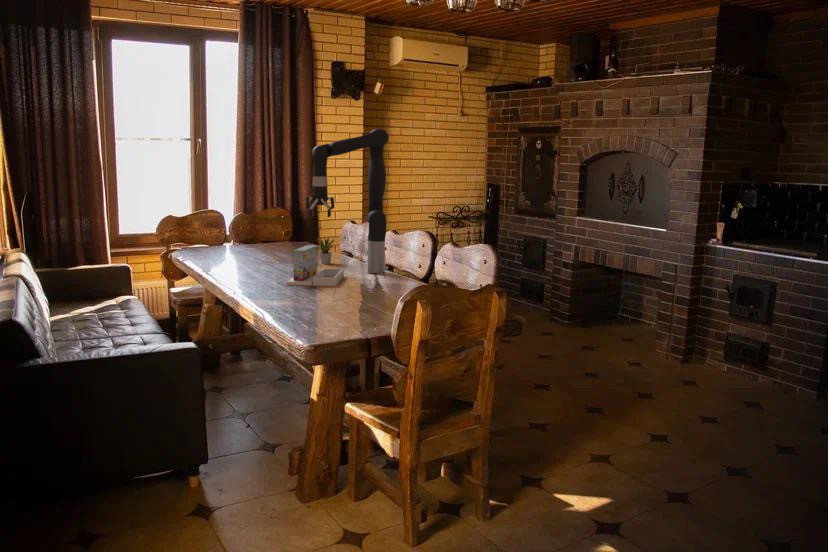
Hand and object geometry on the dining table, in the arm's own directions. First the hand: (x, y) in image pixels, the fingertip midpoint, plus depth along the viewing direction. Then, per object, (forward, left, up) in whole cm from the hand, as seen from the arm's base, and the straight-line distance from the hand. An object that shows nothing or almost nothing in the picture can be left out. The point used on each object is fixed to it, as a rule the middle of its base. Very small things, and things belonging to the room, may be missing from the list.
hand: (320, 217), depth 358 cm
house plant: (+3, -34, -30) cm, 46 cm away
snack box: (+4, +17, -29) cm, 34 cm away
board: (+5, +17, -30) cm, 35 cm away
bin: (-7, +17, -30) cm, 35 cm away
